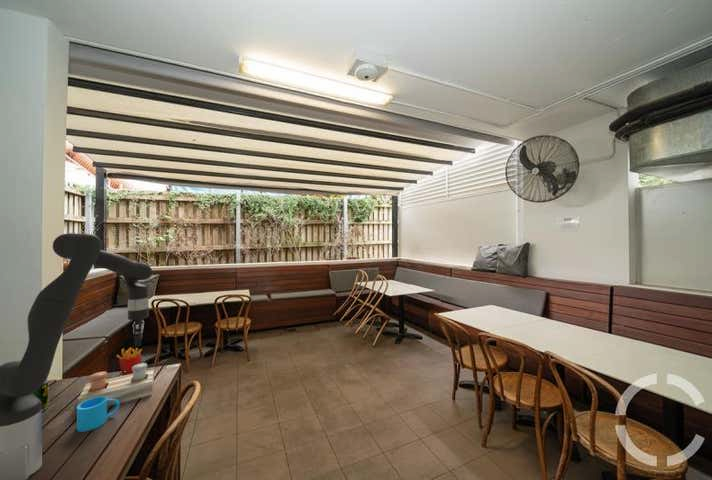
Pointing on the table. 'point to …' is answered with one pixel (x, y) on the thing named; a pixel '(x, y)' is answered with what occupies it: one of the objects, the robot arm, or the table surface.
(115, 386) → the plug console
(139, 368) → the grey plug
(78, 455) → the table surface
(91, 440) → the table surface
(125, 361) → the french fries
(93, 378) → the terracotta plug
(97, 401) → the mug
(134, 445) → the table surface
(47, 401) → the beer can
